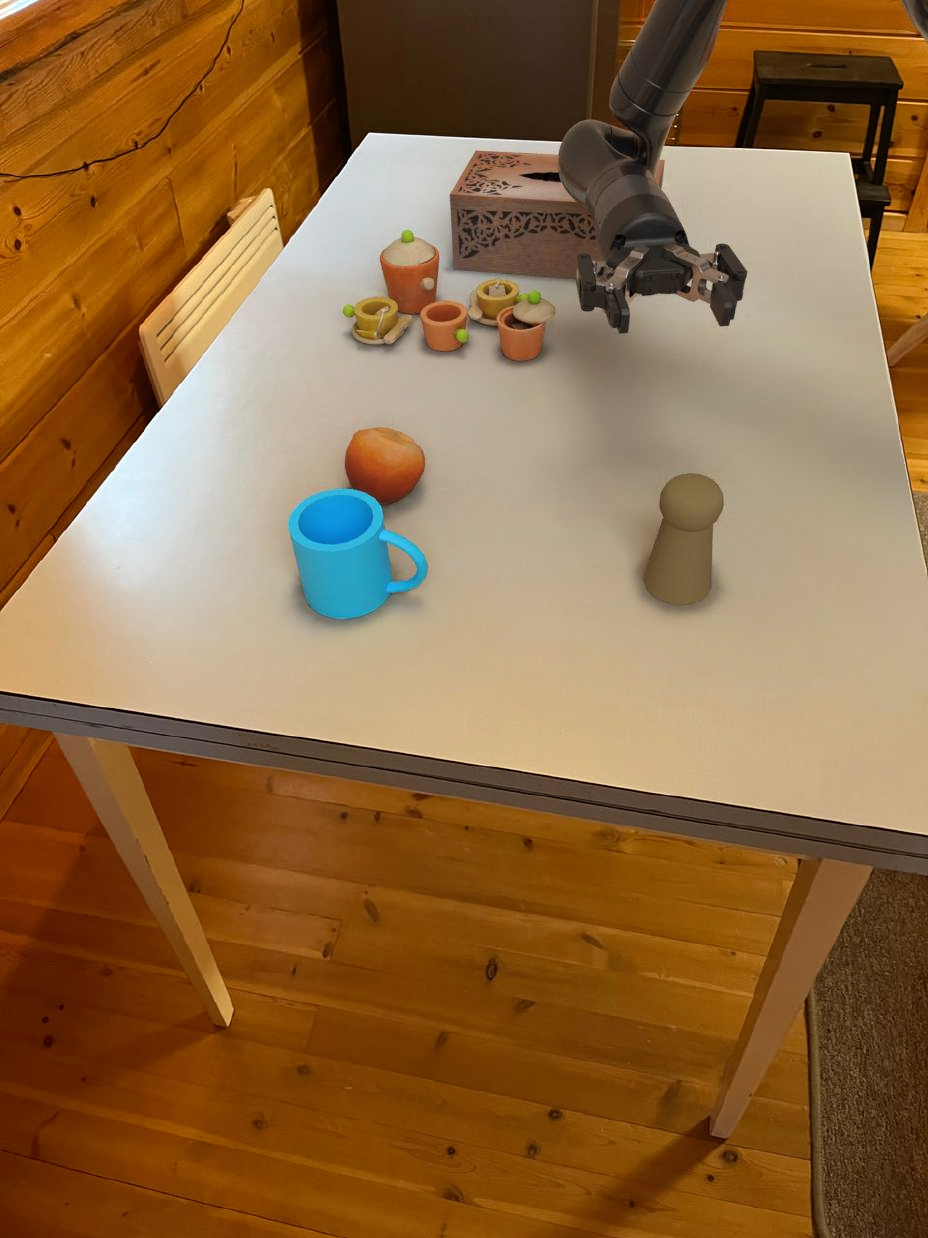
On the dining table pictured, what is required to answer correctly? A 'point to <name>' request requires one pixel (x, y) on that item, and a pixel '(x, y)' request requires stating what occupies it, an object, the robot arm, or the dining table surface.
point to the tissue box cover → (520, 217)
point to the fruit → (384, 464)
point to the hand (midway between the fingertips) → (676, 319)
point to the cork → (684, 540)
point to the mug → (347, 553)
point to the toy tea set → (446, 305)
